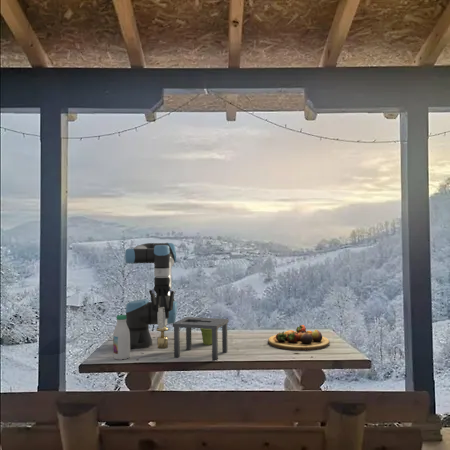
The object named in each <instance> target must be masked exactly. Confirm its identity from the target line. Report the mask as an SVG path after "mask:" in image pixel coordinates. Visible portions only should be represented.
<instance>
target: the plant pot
mask: <svg viewBox="0 0 450 450" xmlns="http://www.w3.org/2000/svg"><path fill="white" fill-rule="evenodd" d="M199 329H200V332H201V337H202V344H203V345H205V346H212V329H201V328H199Z"/></svg>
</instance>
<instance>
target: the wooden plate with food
mask: <svg viewBox="0 0 450 450" xmlns="http://www.w3.org/2000/svg"><path fill="white" fill-rule="evenodd" d="M267 342H268V344H269V345H270V346H272V347H275V348H278V349H283V350H287V351H288V350H289V351H316V350H321V349H325V348H327V347H328V346H329V345H330V340H329V339H328V338H327V337H326V336H323V335H322V333H321V331H320V330H318V329H314V331H312V330H307V329H306V326H305V324H301V325H299V326H297V327H296V329H295V330H292V329H289V330H286V331H282V332H278V333H277V334H274V335H272V336H270V337H269V338H268V339H267Z"/></svg>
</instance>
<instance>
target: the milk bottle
mask: <svg viewBox="0 0 450 450" xmlns="http://www.w3.org/2000/svg"><path fill="white" fill-rule="evenodd" d="M126 318H127V317H126V314H118V315H116V325H115V327H114V330H113V336H112V337H113V338H112V339H113V341H112V342H113V344H112V345H113V347H112V349H113V355H112V356H113V359H114V360H116V361H117V360H121V361H123V360H122V359H124V360H128V359H130V358H131V348H130V332H129V328H128V326H127V324H126ZM129 357H130V358H129ZM127 358H128V359H127Z"/></svg>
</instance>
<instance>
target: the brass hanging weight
mask: <svg viewBox="0 0 450 450" xmlns="http://www.w3.org/2000/svg"><path fill="white" fill-rule="evenodd" d="M164 311H165V308H164V307H160V308H158V317H159V325H158V327H156V331H157V332H160V336H157V349H159V350H163V349H164V350H165V349H168V348H169V341H168V339H169V338H168V336H166V335H165V332H167V331H169V327H168V326H167V325H166V326H164Z"/></svg>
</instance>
